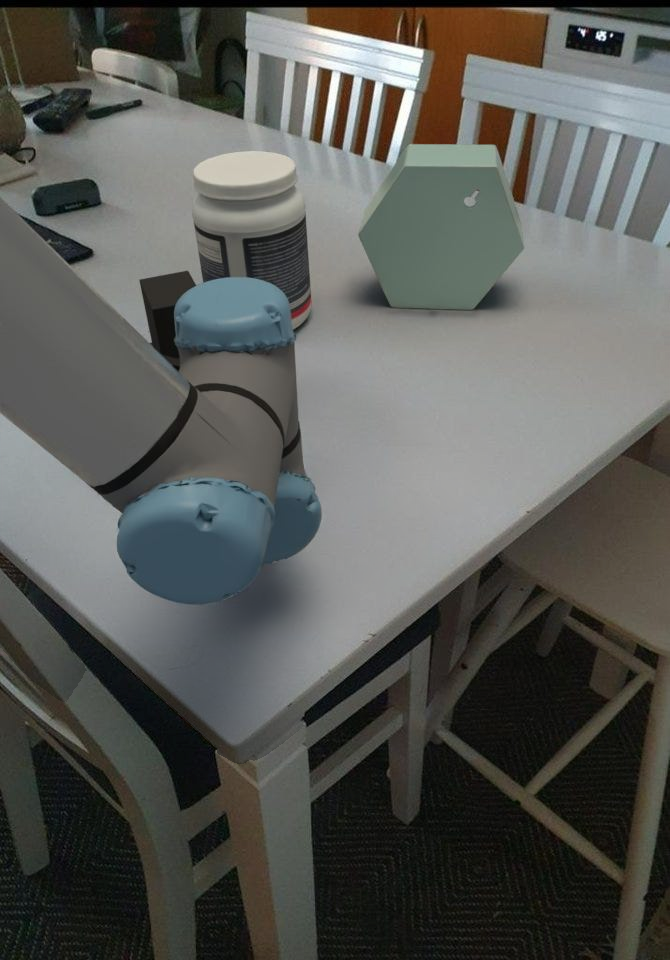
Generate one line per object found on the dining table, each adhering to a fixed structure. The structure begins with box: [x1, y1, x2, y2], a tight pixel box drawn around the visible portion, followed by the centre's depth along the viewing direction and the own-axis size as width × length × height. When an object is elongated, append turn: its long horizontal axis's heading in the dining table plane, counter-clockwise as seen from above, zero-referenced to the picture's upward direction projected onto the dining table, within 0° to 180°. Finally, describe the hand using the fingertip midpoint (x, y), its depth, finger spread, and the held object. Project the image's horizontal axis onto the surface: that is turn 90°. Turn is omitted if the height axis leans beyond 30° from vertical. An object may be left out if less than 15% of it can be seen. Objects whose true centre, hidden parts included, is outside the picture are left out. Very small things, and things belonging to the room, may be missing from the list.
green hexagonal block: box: [357, 143, 525, 311], centre depth 98 cm, size 17×8×21 cm, turn 81°
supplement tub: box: [191, 150, 313, 330], centre depth 94 cm, size 13×13×18 cm
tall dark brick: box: [138, 270, 197, 359], centre depth 82 cm, size 5×7×11 cm
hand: (168, 307), depth 83 cm, fingers open, 13 cm apart
